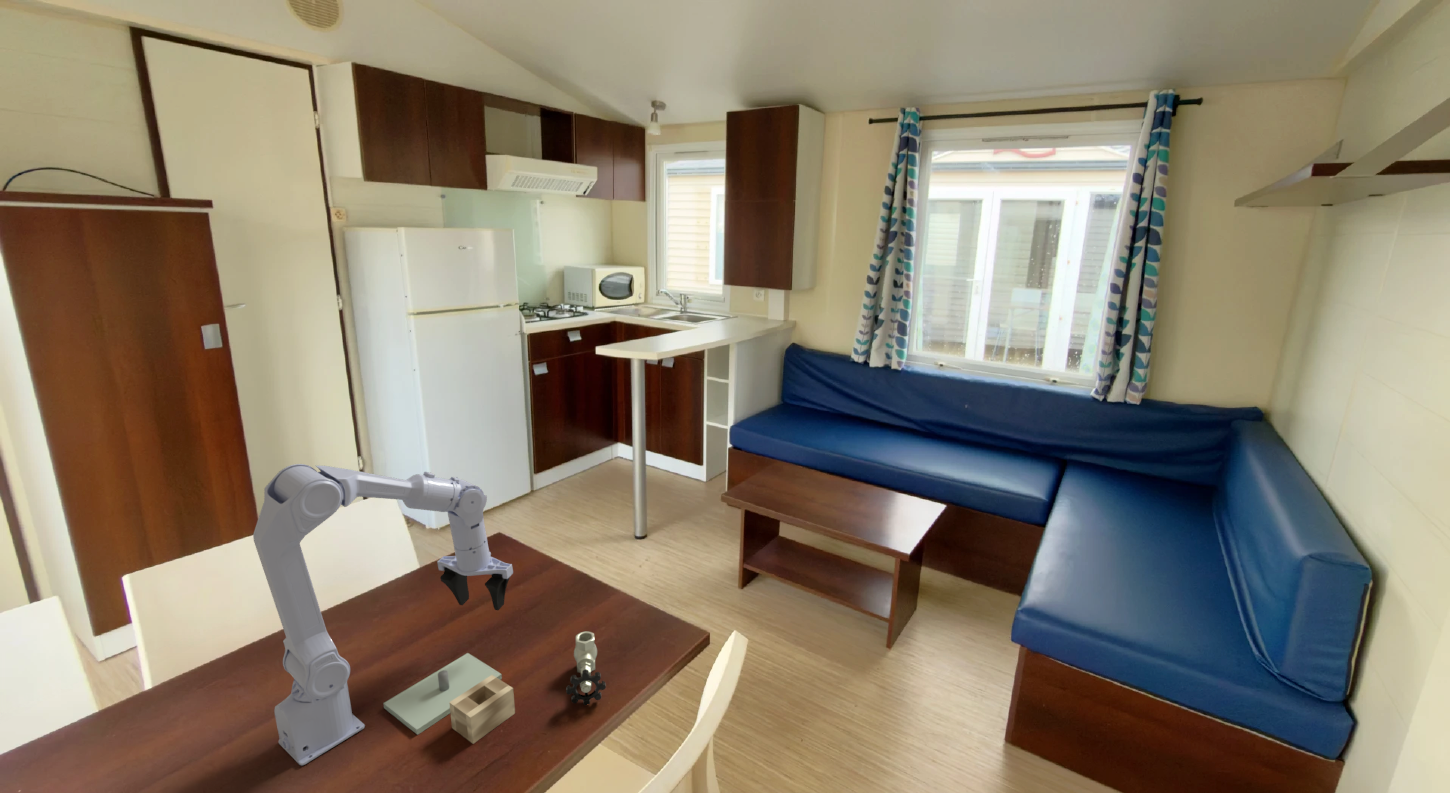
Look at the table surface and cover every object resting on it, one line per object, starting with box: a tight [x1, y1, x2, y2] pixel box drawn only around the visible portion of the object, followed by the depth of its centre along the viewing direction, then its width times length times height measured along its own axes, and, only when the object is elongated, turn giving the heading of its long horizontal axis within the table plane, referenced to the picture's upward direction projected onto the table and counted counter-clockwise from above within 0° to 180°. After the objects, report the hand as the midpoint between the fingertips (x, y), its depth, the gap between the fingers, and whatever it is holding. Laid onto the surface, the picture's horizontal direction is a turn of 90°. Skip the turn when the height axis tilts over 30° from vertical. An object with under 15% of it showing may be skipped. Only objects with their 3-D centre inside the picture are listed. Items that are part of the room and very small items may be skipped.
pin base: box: [383, 652, 503, 736], centre depth 109 cm, size 16×10×4 cm, turn 146°
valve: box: [565, 631, 607, 706], centre depth 113 cm, size 7×7×12 cm
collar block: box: [449, 675, 516, 745], centre depth 103 cm, size 8×6×5 cm
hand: (481, 604), depth 120 cm, fingers open, 7 cm apart
